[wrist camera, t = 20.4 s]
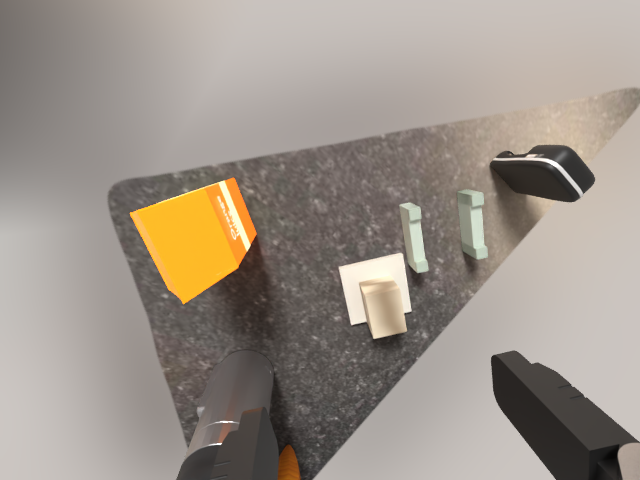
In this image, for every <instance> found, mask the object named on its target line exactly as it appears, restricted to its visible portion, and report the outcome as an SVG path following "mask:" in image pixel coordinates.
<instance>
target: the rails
mask: <svg viewBox="0 0 640 480" xmlns="http://www.w3.org/2000/svg"><path fill="white" fill-rule="evenodd" d="M457 200H458V211H459V221H460V231H461V242H462V251H463V252H465V253H467V254H468V255H470V256H472V257H473V258H475V259H477V260H478V259H482V258H487V257H488V252H487V247H486V246H484V234H483V221H482V207H481V205H483V204H484V196H483V193H482V192H477V191H472V190H468V189H467V190H463V191H458V192H457ZM399 207H400V214H401V221H402V227H403V234H404V241H405V247H406V254H407V261H408V264H409V265H410V266H411V267H412V268H413V269H414V270H415V271H416V272H417V273H421V272H425V271H428V264H427V260H426V259H425V254H424V246H423V239H422V231H421V223H420V219H421V210H420V207H419V206H416V205H414V204H412V203H406V204H401V205H399Z"/></svg>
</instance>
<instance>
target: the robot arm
mask: <svg viewBox="0 0 640 480" xmlns="http://www.w3.org/2000/svg"><path fill="white" fill-rule="evenodd" d="M491 366H492V378H493V391H494V395H495V398H496V401H497V403H498V405H499V407H500V408H501V410H502V411H503V413H504V414H505V415H506V416H507V418H508V419H509V420H510V422H511V423H512V424H513V425H514V427H515V428H516V429H517V430H518V432H519V433H520V434H521V436H522V437H523V438H524V439H525V441H526V442H527V443H528V444H529V446H530V447H531V448H532V450H533V451H534V452H535V453H536V455H537V456H538V457H539V459H540V460H541V461H542V462H543V464H544V465H545V466H546V467H547V469H548V470H549V471H550V473H551V474H552V475H553V476H554V478H555V479H556V480H640V442H639V441H637V440H636V439H635V438H634V437H633V436H631V435H630V434H629V433H628V432H627V431H626V430H624V429H623V428H622V427H621V426H620V425H619V424H617V423H616V422H615V421H614V420H613V419H612V418H610V417H609V416H608V415H607V414H606V413H604V412H603V411H602V410H601V409H600V408H598V407H597V406H596V405H595V404H593V402H591V401H590V400H589V399H588V398H585V397H584V395H583V394H582V393H581V392H579V391H578V390H577V389H576V388H575V387H572V386H571V384H570V383H569V382H568V381H567V380H566V379H564V378H563V377H562V376H561V375H560V374H558V373H557V372H556V371H554V370H552V369H550V368H548V367H546V366H544V365H542V364H540V363H534V364H531V363H529V361H528V360H527V359H525V358H524V357H523V356H522V355H521V354H520V353H518V352H517V351H510V352H505V353H502V354H497V355H493V356H492V357H491ZM273 379H274V370H273V366H272V364H271V362H270V361H269V360H268V359H267V358H266V357H265V356H264V355H262V354H260V353H258V352H255V351H250V350H241V351H237V352H234V353H232V354H230V355H229V356H227V357H226V358H225V359H224V360H223V361H222V362H221V363H219V364H216V365H215V366H214V369H213V371H212V373H211V376H210V378H209V381H208V383H207V386H206V388H205V390H204V393H203V395H202V398H201V400H200V403H199V405H198V408H197V414H198V416H199V418H200V419H199V422H198V424H197V427H196V430H195V432H194V435H193V438H192V440H191V443H190V446H189V448H188V451H187V453H186V456H185V459H184V462H183V464H182V466H181V469H180V471H179V474H178V477H177V479H176V480H277V479H278V465H279V451H278V444H277V439H276V436H275V433H274V430H273V427H272V424H271V421H270V418H269V411H270V403H271V395H272V388H273Z"/></svg>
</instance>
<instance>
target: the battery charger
mask: <svg viewBox="0 0 640 480" xmlns="http://www.w3.org/2000/svg"><path fill="white" fill-rule="evenodd" d="M490 165H491V166H492V168H493V169H494V170H495V171H496V172H497V173H498V174H499V175H500V176H501V178H502V179H503V180H504V181H505V182H506V183H507V184H508V185H509V186H510V187H511V188H512V189H513V191H514V192H516V193H521V194H527V195H532V196H536V197H541V198H546V199H551V200H557V201H563V202H575V201H576V200H578V199H580V198H581V197H582V196H583V194H584V193H585V192H586V191H587V190H588V189H589V188H590V187H591V186H592V185H593V184H594V182H595V177H594V175H593V173H592V172H591V171H590V170H589V168H588V167H587V166H586V164H585V163H584V162H583V161H582V159H581V158H580V157H579V156H578V155H577V153H576V152H575V151H574V150H572V149H571V148H569V147H567V146H564V145H538V146H535V147H534V148H533V149H531V150H530V151H529V152H528V153H526V154H520V155H514V154H513V153H512V152H510V151H504V152H502V153H500V154H499V155H498V156H497V157H496V158H494V159H493V160H492V162H491V163H490Z"/></svg>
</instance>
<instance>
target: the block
mask: <svg viewBox="0 0 640 480" xmlns="http://www.w3.org/2000/svg"><path fill="white" fill-rule="evenodd" d="M359 286H360V291H361V296H362V301H363V306H364V311H365V316H366V320H367V323H368V326H369V328H370V331H371V334H372V336H373V339H376V338H380V337H385V336H389V335H393V334H398V333H402V332H406V331H407V329H406V323H405V316H404V310H403V304H402V298H401V292H400V288H399V287H398V285H397V284H396V283H395V281H394V280H393V279H392V277H391V276H390V275H389V276H385V277H380V278H376V279H372V280H367V281H363V282H359Z"/></svg>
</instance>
